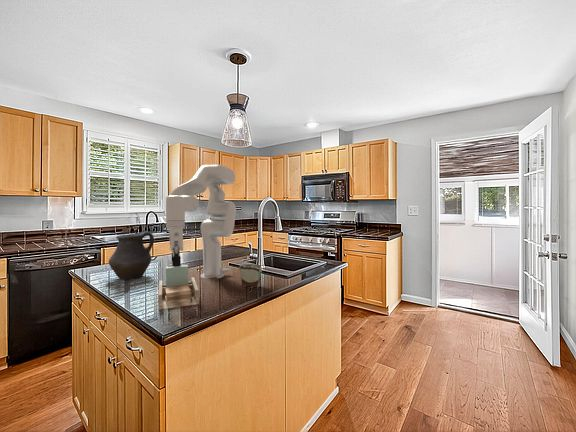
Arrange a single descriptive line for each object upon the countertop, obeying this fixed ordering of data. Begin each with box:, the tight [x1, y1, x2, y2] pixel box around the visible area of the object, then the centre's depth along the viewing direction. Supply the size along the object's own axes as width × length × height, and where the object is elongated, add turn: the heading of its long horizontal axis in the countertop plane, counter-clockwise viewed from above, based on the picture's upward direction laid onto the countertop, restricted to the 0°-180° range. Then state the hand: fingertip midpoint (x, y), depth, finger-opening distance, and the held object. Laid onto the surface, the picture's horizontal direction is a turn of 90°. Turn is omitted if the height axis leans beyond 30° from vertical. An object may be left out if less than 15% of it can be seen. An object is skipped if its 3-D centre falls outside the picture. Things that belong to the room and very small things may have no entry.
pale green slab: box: [165, 264, 190, 287], centre depth 123 cm, size 9×3×12 cm, turn 114°
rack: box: [157, 276, 200, 310], centre depth 117 cm, size 14×20×7 cm
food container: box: [238, 263, 263, 288], centre depth 140 cm, size 12×6×10 cm, turn 65°
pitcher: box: [108, 230, 155, 280], centre depth 153 cm, size 21×22×25 cm
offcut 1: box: [165, 285, 191, 297], centre depth 114 cm, size 9×7×2 cm
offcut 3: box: [165, 296, 191, 306], centre depth 114 cm, size 9×7×2 cm
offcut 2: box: [167, 289, 191, 301], centre depth 115 cm, size 9×7×2 cm
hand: (176, 263), depth 122 cm, fingers open, 9 cm apart
